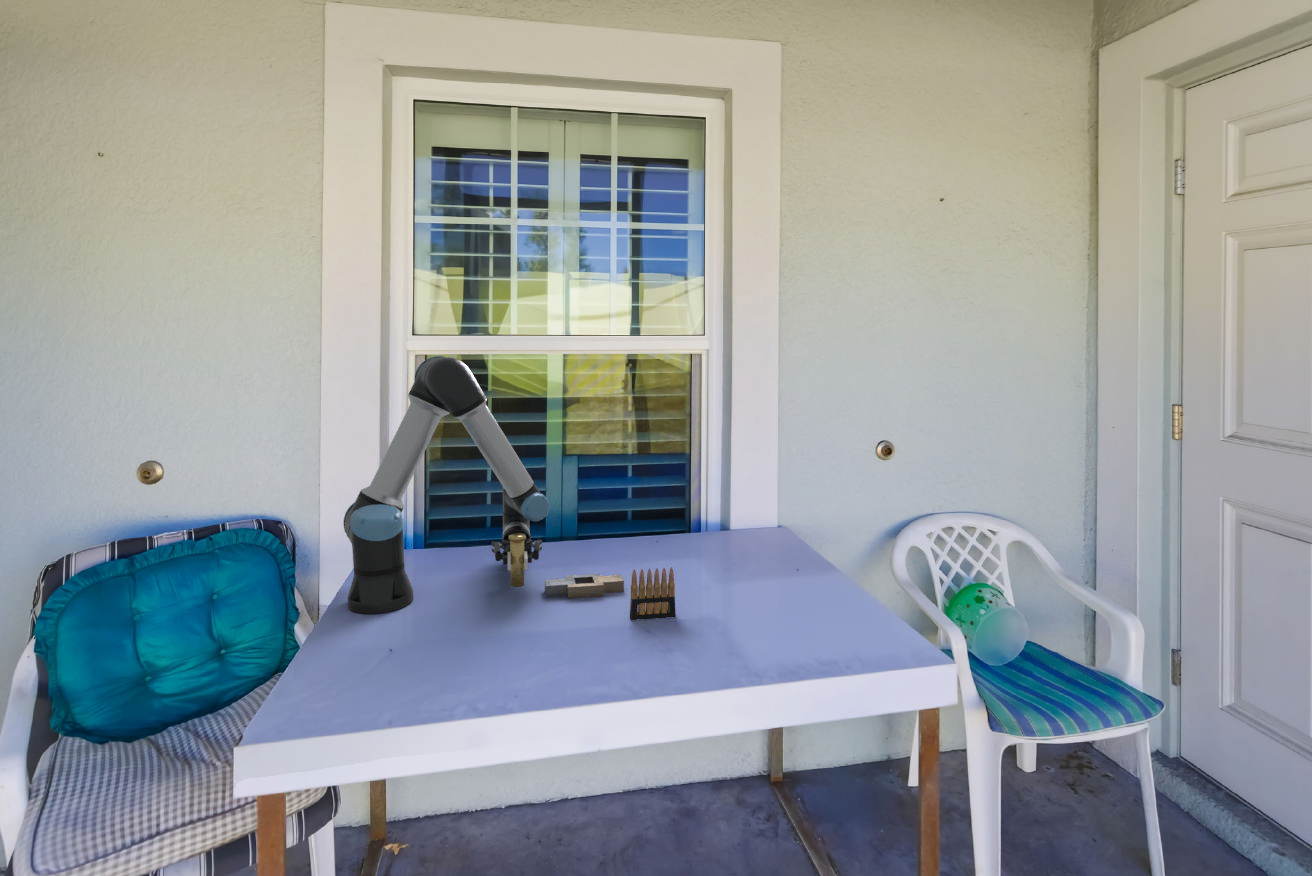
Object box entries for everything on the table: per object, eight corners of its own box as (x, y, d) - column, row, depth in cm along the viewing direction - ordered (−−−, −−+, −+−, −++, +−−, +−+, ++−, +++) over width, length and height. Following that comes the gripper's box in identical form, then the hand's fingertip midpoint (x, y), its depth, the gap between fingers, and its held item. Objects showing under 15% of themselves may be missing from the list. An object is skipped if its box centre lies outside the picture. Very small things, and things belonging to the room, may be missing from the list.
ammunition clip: (674, 614, 166) (674, 565, 164) (675, 617, 164) (676, 568, 162) (629, 617, 164) (629, 568, 162) (630, 620, 162) (630, 570, 161)
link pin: (509, 588, 173) (508, 538, 172) (509, 582, 177) (508, 533, 176) (526, 587, 174) (526, 537, 173) (525, 581, 178) (525, 533, 177)
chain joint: (546, 600, 174) (545, 588, 174) (544, 588, 183) (544, 577, 182) (625, 594, 178) (625, 583, 178) (619, 583, 187) (619, 572, 187)
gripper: (546, 550, 195) (551, 577, 172) (486, 552, 191) (483, 581, 168) (546, 524, 194) (551, 548, 171) (485, 526, 190) (482, 551, 167)
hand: (517, 564), depth 170 cm, fingers closed on link pin, 3 cm apart
